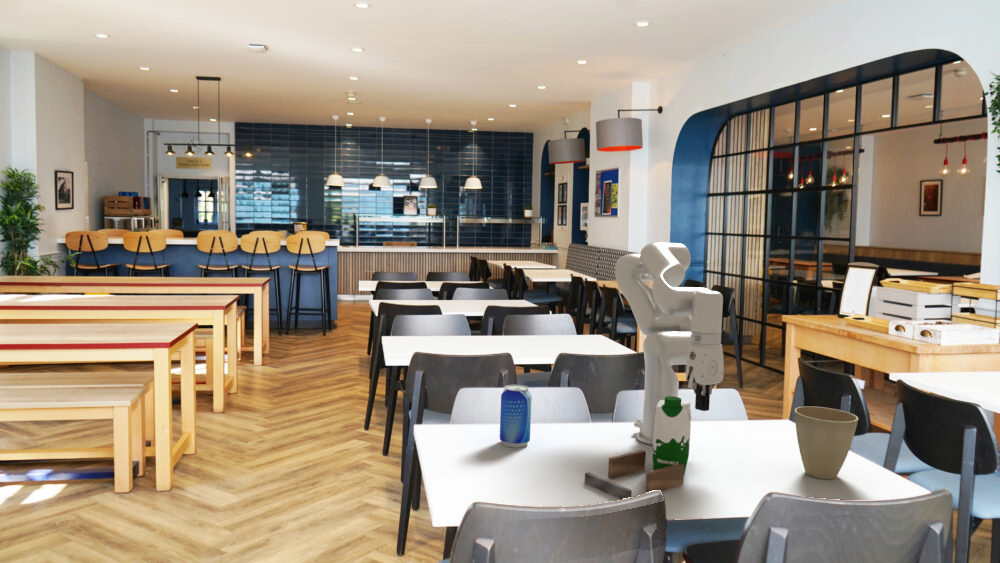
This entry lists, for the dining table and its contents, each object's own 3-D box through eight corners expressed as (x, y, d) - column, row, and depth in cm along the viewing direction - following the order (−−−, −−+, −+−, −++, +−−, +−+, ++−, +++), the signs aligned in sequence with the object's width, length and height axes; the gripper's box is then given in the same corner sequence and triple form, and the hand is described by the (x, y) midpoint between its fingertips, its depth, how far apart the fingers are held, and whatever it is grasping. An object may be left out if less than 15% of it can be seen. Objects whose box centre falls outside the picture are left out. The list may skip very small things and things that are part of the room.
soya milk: (649, 477, 189) (653, 398, 187) (654, 466, 197) (658, 390, 195) (685, 483, 186) (690, 402, 184) (689, 471, 194) (693, 394, 192)
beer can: (494, 445, 210) (496, 388, 208) (506, 437, 218) (508, 382, 216) (523, 450, 207) (525, 392, 205) (533, 441, 215) (536, 386, 213)
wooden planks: (584, 483, 183) (585, 462, 183) (640, 468, 195) (641, 449, 195) (627, 501, 172) (628, 480, 172) (683, 485, 184) (685, 465, 184)
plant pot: (848, 489, 185) (853, 425, 184) (784, 476, 193) (789, 414, 191) (857, 472, 198) (861, 412, 196) (796, 460, 206) (801, 403, 204)
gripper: (698, 343, 187) (695, 416, 189) (735, 339, 196) (732, 409, 198) (674, 339, 193) (671, 410, 195) (711, 335, 202) (708, 403, 204)
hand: (702, 409), depth 196 cm, fingers closed
